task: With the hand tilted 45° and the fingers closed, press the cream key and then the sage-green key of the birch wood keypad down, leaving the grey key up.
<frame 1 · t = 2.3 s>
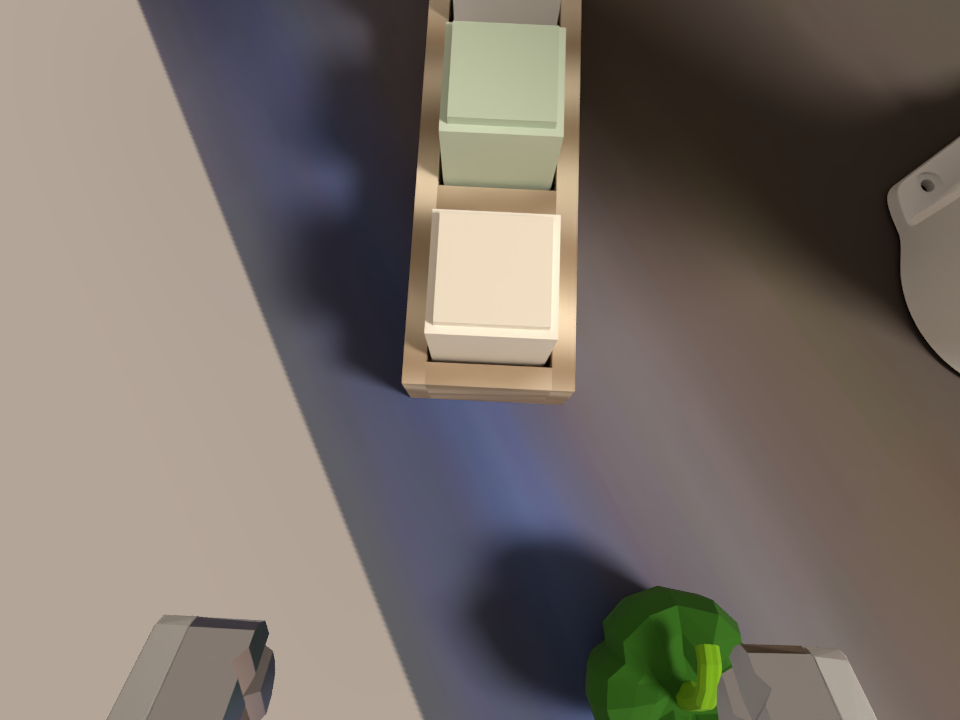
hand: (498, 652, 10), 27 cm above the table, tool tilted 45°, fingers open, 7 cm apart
keypad housing: (496, 176, 41), on the table
bell pepper: (647, 655, 36), on the table
sage key: (501, 113, 35), point 7 cm above the table, slide at 0.0 cm
cream key: (492, 292, 33), point 7 cm above the table, slide at 0.0 cm
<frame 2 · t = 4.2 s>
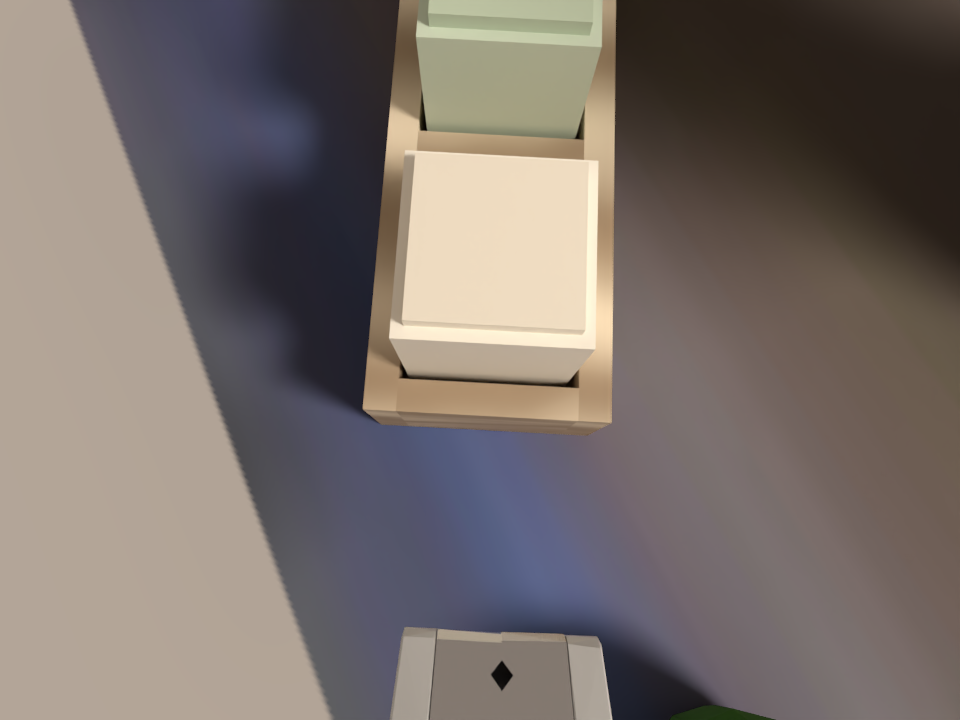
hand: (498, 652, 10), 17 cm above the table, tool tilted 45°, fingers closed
keypad housing: (499, 129, 31), on the table
sage key: (507, 26, 24), point 7 cm above the table, slide at 0.0 cm
cream key: (493, 279, 22), point 7 cm above the table, slide at 0.0 cm
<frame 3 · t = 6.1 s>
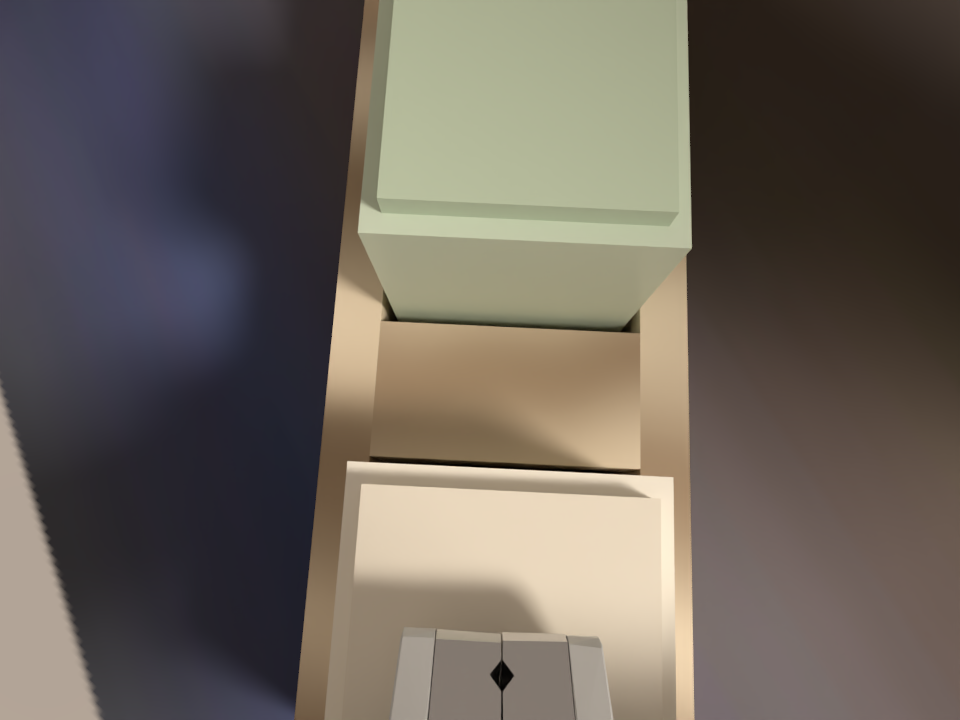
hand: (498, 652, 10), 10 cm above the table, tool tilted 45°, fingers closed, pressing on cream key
keypad housing: (506, 270, 22), on the table
sage key: (520, 168, 15), point 7 cm above the table, slide at 0.0 cm
cream key: (498, 613, 14), point 6 cm above the table, slide at 1.1 cm, touching gripper
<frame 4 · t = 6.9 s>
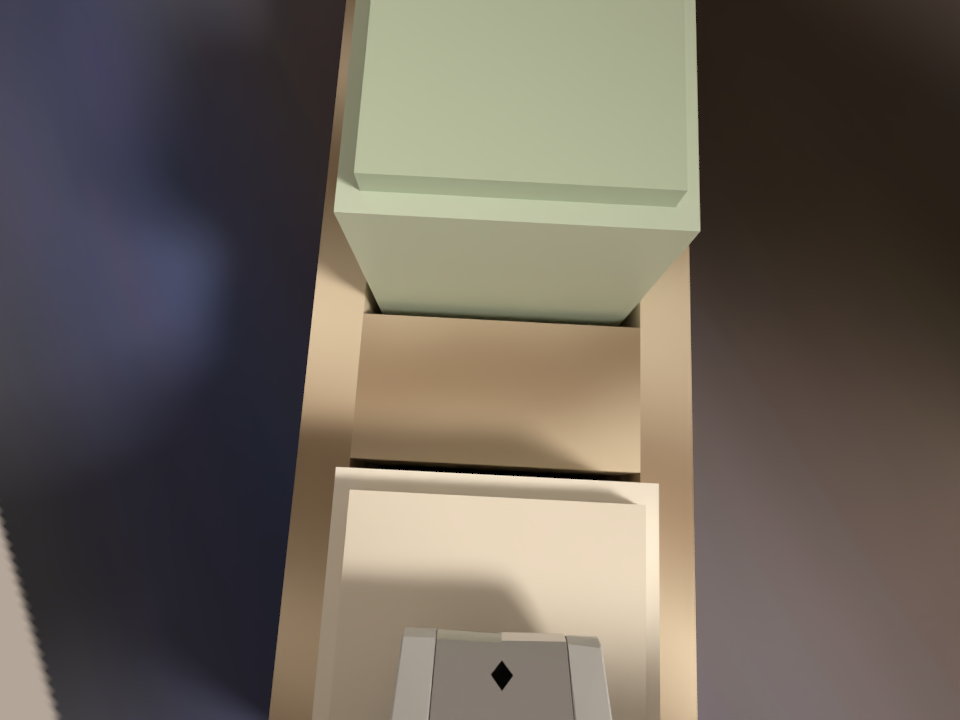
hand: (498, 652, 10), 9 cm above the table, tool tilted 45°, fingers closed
keypad housing: (499, 263, 21), on the table
sage key: (512, 149, 14), point 7 cm above the table, slide at 0.0 cm
cream key: (486, 617, 14), point 5 cm above the table, slide at 2.3 cm
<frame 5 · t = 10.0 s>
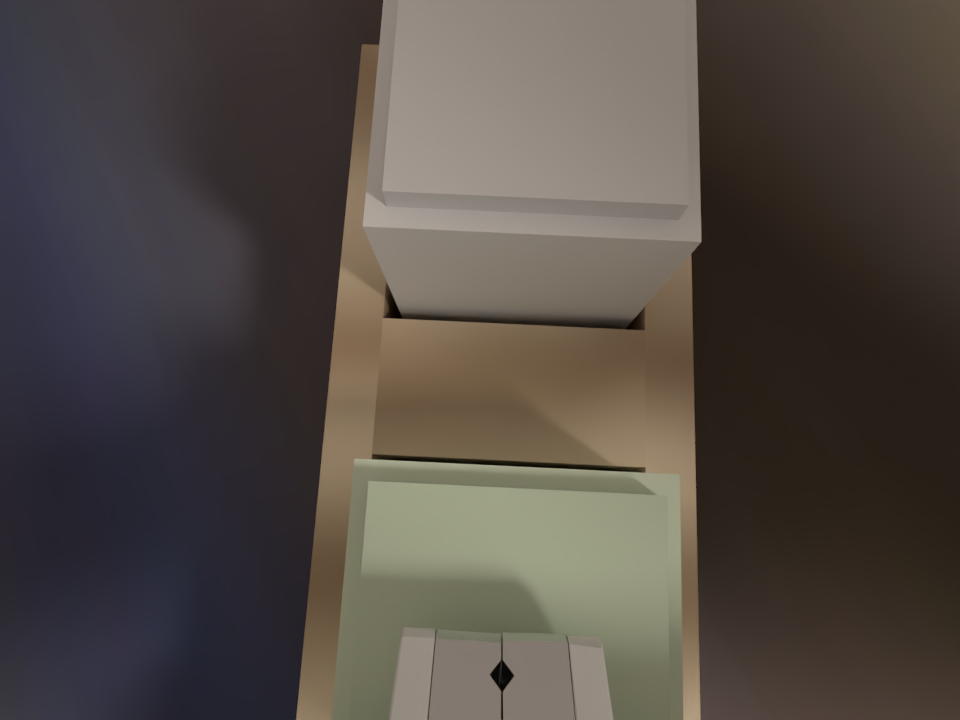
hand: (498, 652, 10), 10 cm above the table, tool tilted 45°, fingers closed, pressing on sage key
keypad housing: (497, 578, 20), on the table
sage key: (504, 610, 14), point 6 cm above the table, slide at 1.3 cm, touching gripper
grey key: (525, 162, 15), point 7 cm above the table, slide at 0.0 cm
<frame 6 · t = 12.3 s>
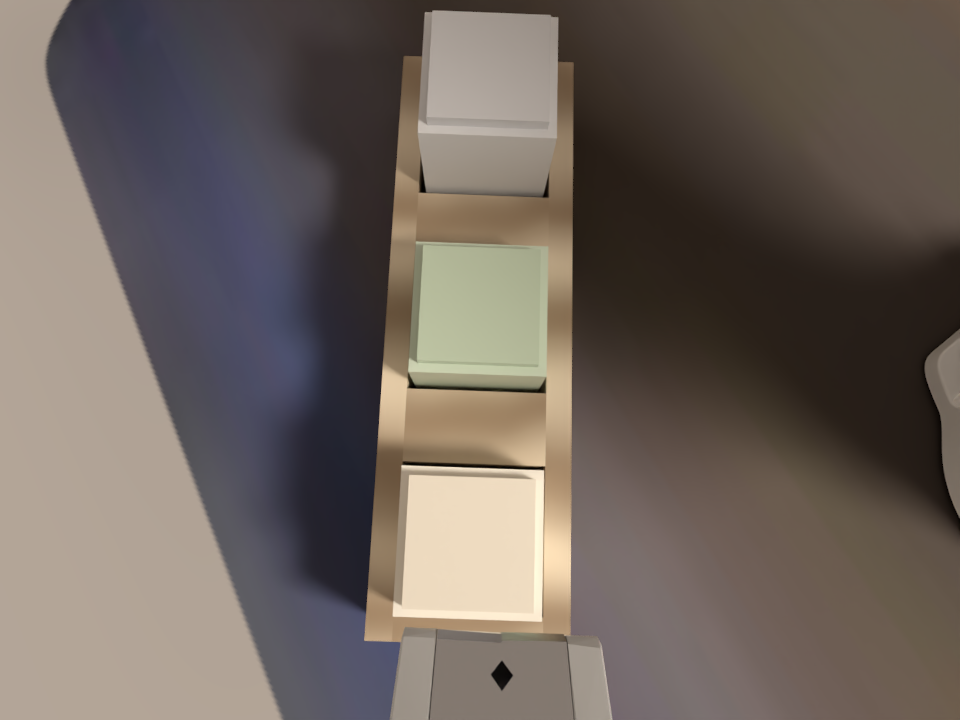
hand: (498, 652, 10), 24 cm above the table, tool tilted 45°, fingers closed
keypad housing: (478, 346, 36), on the table
sage key: (479, 324, 32), point 5 cm above the table, slide at 2.3 cm
cream key: (470, 537, 30), point 5 cm above the table, slide at 2.3 cm
grey key: (487, 112, 31), point 7 cm above the table, slide at 0.0 cm
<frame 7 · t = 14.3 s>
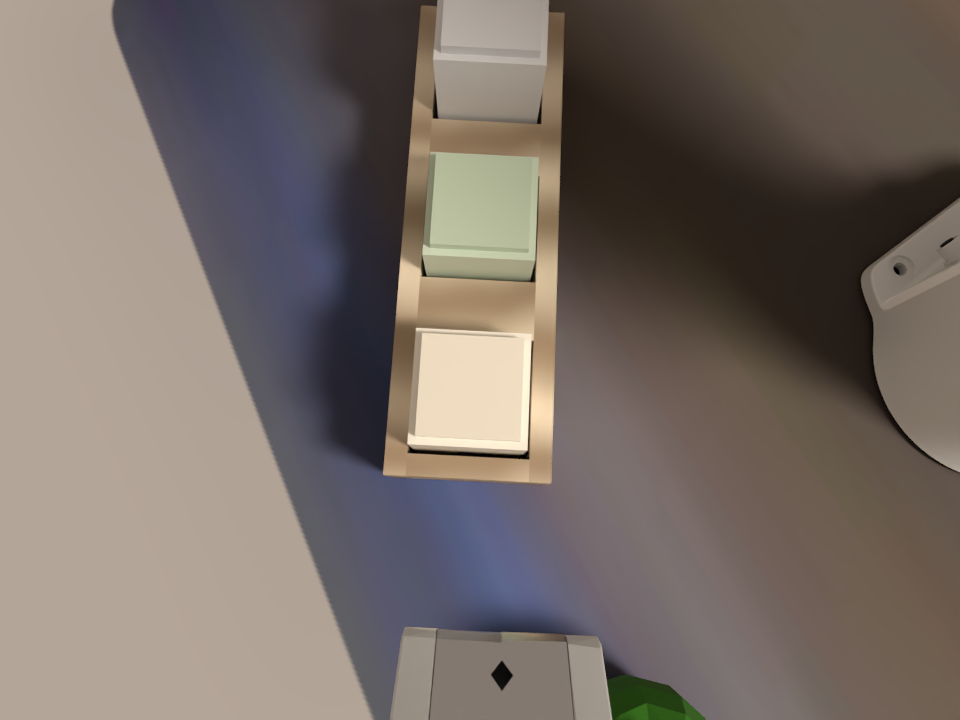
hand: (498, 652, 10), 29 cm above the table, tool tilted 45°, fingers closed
keypad housing: (480, 256, 43), on the table
sage key: (480, 227, 38), point 5 cm above the table, slide at 2.3 cm
cream key: (470, 396, 36), point 5 cm above the table, slide at 2.3 cm
grey key: (491, 50, 38), point 7 cm above the table, slide at 0.0 cm
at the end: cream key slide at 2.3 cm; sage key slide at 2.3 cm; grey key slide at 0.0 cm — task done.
